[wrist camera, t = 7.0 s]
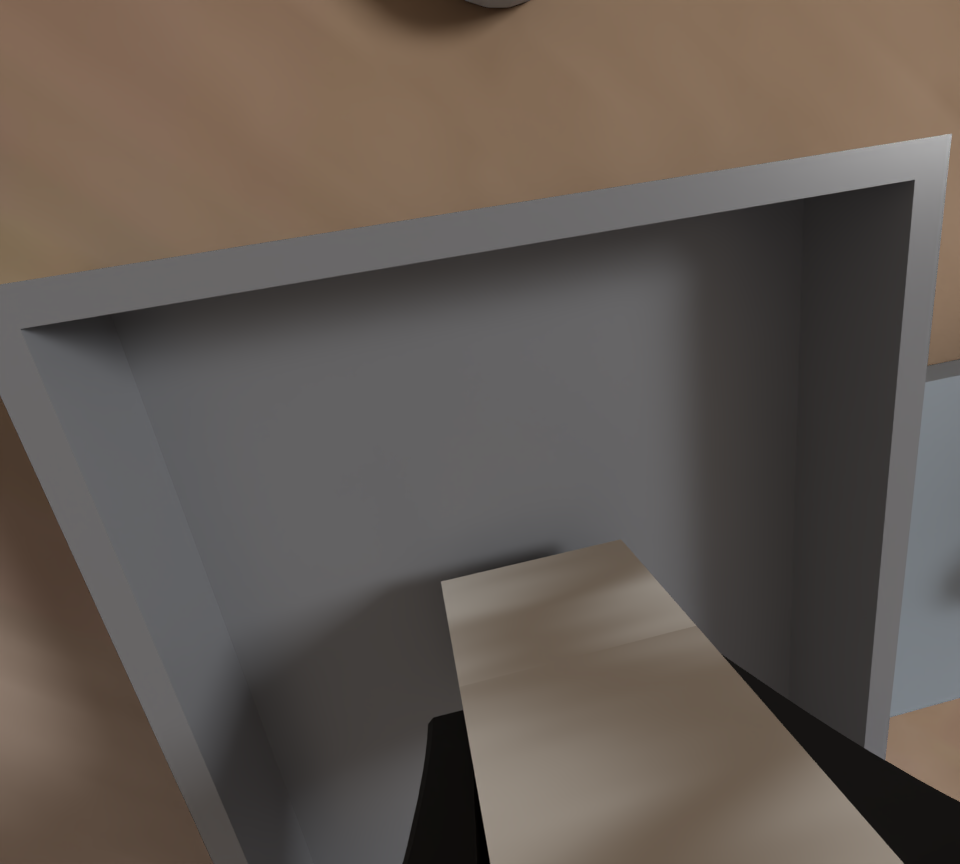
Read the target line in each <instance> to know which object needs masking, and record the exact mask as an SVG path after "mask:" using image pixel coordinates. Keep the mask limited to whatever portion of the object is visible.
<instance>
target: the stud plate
mask: <svg viewBox="0 0 960 864" xmlns="http://www.w3.org/2000/svg"><path fill="white" fill-rule="evenodd" d="M957 698H960V359H959V360H954V361H949V362H944V363H940V364H935V365H930V366H927V372H926V381H925V391H924V400H923V409H922V419H921V428H920V438H919V447H918V456H917V466H916V475H915V485H914V494H913V503H912V513H911V522H910V531H909V541H908V550H907V560H906V569H905V578H904V588H903V597H902V607H901V616H900V625H899V635H898V644H897V654H896V663H895V672H894V682H893V691H892V700H891V710H890V717H893V716H896V715H900V714H904V713H907V712H911V711H914V710H918V709H922V708H925V707H929V706H932V705H936V704H939V703H943V702H947V701H950V700H954V699H957Z"/></svg>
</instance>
